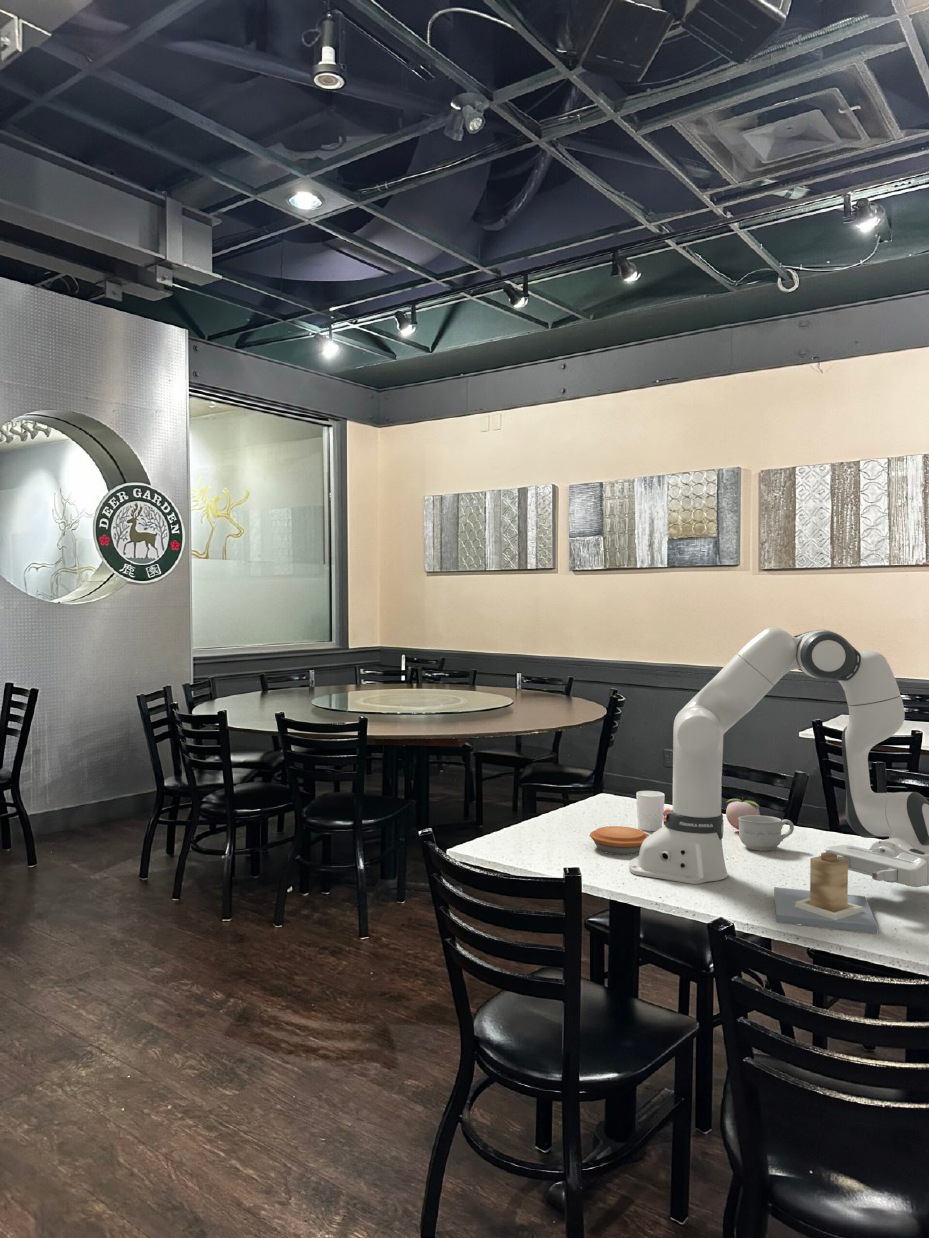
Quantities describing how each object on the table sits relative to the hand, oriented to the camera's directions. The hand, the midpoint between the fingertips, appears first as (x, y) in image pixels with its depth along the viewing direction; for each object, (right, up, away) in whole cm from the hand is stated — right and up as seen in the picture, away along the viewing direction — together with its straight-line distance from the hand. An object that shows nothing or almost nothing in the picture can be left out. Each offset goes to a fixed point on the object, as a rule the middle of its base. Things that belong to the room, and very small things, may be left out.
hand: (853, 870), depth 175 cm
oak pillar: (-7, -7, -4) cm, 11 cm away
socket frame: (-7, -7, -5) cm, 11 cm away
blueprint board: (-7, -8, -2) cm, 11 cm away
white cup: (-27, -8, +67) cm, 73 cm away
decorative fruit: (-2, -8, +64) cm, 65 cm away
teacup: (-1, -8, +47) cm, 48 cm away
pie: (-40, -8, +45) cm, 61 cm away
